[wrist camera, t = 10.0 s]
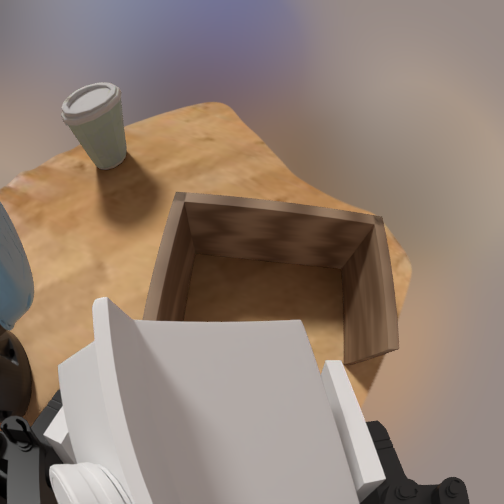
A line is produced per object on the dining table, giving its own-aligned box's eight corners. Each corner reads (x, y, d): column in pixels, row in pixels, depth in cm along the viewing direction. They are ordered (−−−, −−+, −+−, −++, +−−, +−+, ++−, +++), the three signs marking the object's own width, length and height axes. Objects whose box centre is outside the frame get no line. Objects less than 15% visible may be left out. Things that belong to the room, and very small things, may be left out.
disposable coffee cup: (143, 139, 48) (128, 73, 35) (128, 178, 43) (104, 106, 30) (96, 144, 47) (76, 84, 34) (78, 182, 42) (47, 119, 29)
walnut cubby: (168, 350, 31) (140, 329, 21) (188, 244, 37) (175, 191, 28) (352, 364, 31) (399, 348, 21) (348, 261, 38) (382, 216, 28)
